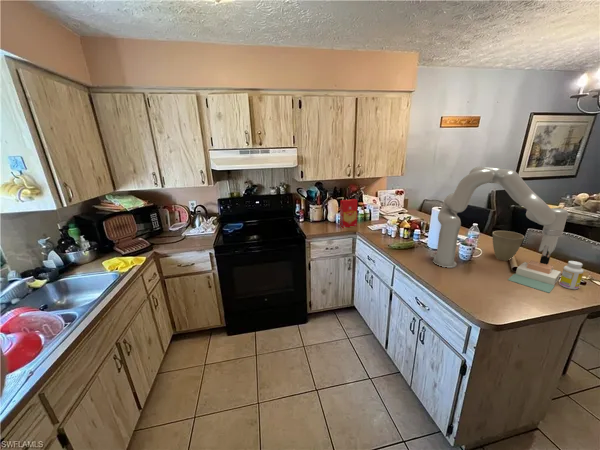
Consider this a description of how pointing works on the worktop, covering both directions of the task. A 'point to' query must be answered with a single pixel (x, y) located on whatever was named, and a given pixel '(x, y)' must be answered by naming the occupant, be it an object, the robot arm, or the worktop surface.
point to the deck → (538, 274)
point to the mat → (531, 283)
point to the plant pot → (506, 244)
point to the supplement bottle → (571, 275)
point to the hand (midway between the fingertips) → (543, 263)
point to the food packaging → (348, 213)
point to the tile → (540, 267)
